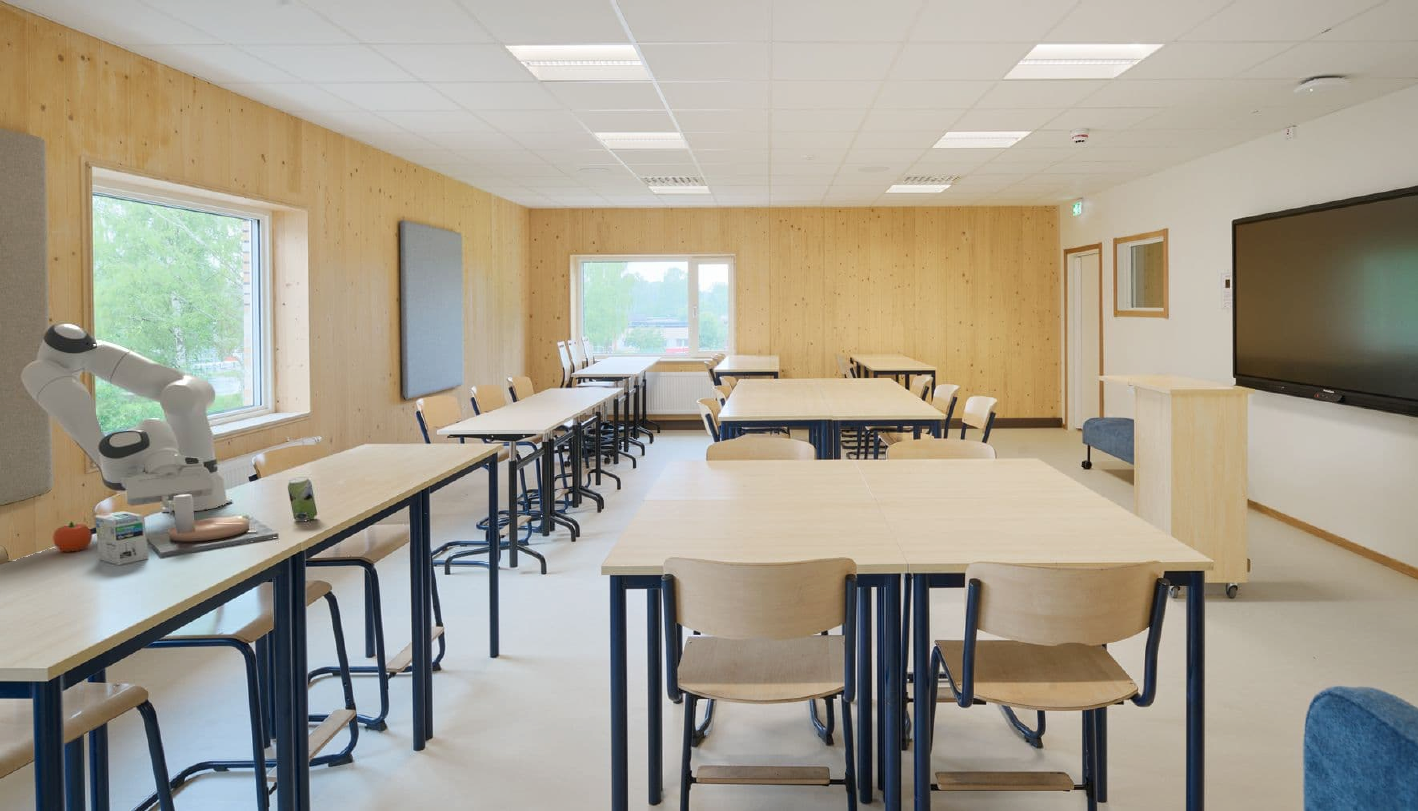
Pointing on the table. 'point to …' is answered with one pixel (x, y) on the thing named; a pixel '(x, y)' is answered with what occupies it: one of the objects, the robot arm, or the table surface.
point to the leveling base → (171, 547)
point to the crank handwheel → (202, 523)
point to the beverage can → (302, 499)
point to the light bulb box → (121, 537)
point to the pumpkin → (72, 537)
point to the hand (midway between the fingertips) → (176, 511)
